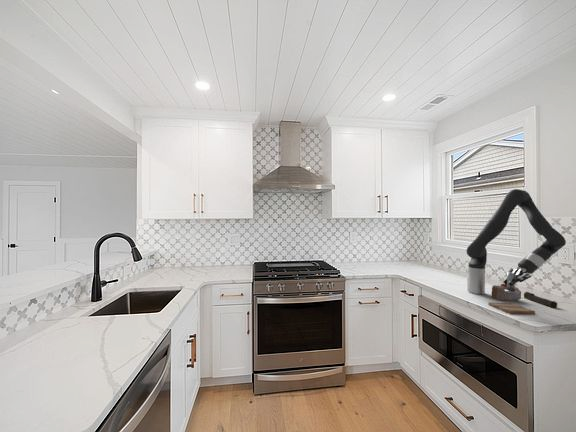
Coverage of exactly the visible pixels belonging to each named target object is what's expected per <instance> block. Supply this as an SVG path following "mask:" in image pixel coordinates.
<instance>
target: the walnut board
mask: <svg viewBox="0 0 576 432" xmlns="http://www.w3.org/2000/svg"><path fill="white" fill-rule="evenodd" d="M488 306H490V307H491V308H492V307H493V308H495V309H497V310H498V311H499V310H500V311H502V312H504V313H506V314H508V313H509V315H536V310H533V309H531V308H527V307H524V306H523V305H519V304H516V303H514V302H494V301H493V302H490V301H489V302H488Z"/></svg>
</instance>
